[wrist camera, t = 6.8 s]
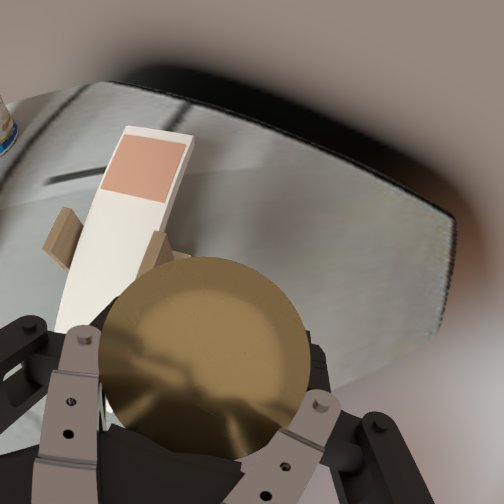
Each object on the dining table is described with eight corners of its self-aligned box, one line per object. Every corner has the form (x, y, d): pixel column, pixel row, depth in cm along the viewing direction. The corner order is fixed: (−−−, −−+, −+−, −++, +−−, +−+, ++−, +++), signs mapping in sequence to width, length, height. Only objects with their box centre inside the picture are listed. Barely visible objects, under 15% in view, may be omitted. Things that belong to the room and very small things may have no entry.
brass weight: (146, 408, 15) (75, 420, 6) (174, 312, 17) (137, 235, 9) (249, 436, 15) (284, 482, 6) (273, 338, 17) (326, 285, 9)
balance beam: (53, 379, 23) (44, 382, 22) (130, 133, 29) (126, 124, 27) (118, 409, 23) (111, 413, 22) (195, 144, 29) (193, 135, 27)
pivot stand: (73, 302, 29) (27, 269, 20) (100, 236, 32) (68, 186, 24) (168, 336, 29) (146, 312, 20) (192, 261, 32) (183, 212, 24)
